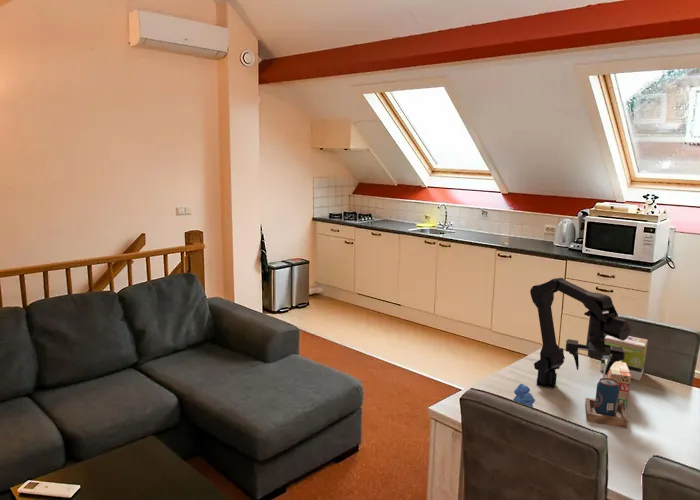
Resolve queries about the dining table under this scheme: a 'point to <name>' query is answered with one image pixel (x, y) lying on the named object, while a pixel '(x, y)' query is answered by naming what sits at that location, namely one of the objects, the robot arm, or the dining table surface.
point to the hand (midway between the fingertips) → (591, 371)
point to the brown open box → (617, 420)
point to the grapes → (524, 395)
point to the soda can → (607, 397)
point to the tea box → (630, 354)
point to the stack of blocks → (620, 379)
